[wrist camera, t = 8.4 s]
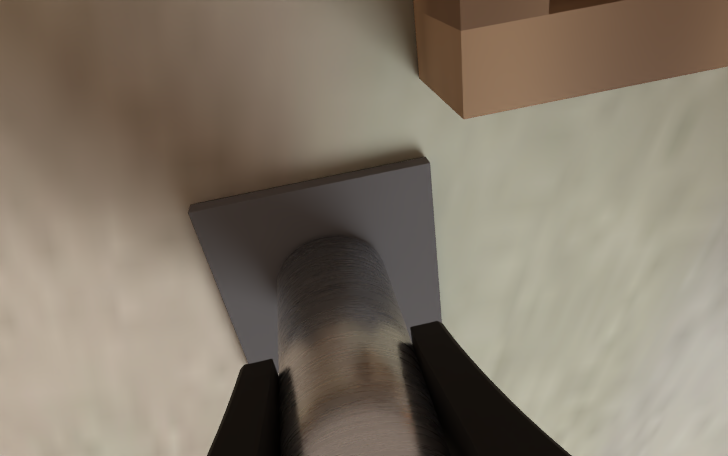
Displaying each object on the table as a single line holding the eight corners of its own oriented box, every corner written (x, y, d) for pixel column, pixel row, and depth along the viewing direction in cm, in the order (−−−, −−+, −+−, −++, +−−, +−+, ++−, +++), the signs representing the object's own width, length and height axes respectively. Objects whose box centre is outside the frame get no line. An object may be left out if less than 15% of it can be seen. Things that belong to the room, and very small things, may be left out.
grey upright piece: (388, 197, 12) (611, 687, 4) (383, 341, 14) (514, 805, 7) (267, 206, 11) (261, 775, 4) (284, 353, 14) (304, 863, 6)
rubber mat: (425, 156, 12) (429, 163, 12) (438, 326, 15) (442, 334, 15) (190, 204, 12) (187, 212, 11) (254, 368, 15) (254, 378, 15)
